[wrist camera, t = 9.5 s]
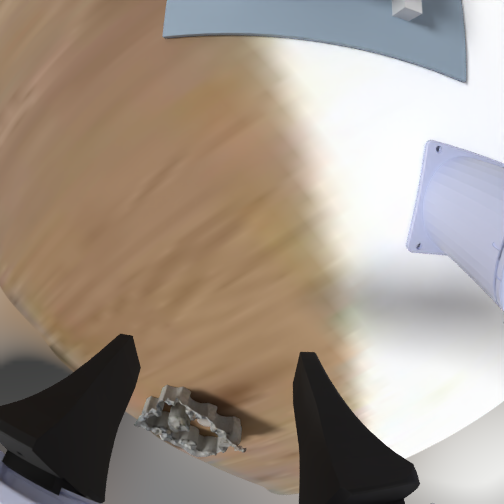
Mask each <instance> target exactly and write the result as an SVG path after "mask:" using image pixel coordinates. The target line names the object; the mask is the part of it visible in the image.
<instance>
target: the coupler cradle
mask: <svg viewBox="0 0 504 504" xmlns="http://www.w3.org/2000/svg"><path fill="white" fill-rule="evenodd" d="M209 35H249V36H269V37H282V38H293V39H302V40H310V41H317V42H323V43H330V44H335V45H341V46H346V47H351V48H356V49H361V50H365V51H369V52H373V53H378V54H381V55H385V56H389V57H393V58H396V59H399V60H403V61H406V62H409V63H413V64H416V65H419V66H422V67H425V68H427V69H430V70H433V71H436V72H438V73H441V74H444V75H446V76H449V77H451V78H454V79H456V80H459V81H461V82H466V48H465V31H464V20H463V11H462V3H461V0H167V4H166V12H165V20H164V29H163V37H164V38H165V39H166V38H176V37H189V36H209Z"/></svg>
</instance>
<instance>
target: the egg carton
mask: <svg viewBox="0 0 504 504" xmlns="http://www.w3.org/2000/svg"><path fill="white" fill-rule="evenodd" d="M190 394H191V391H190V390H188V389H187V388H185V387H179V388H176V387H172V386H169V385H166V386H164V387H163V388H162V391H161V395H160V397H159V398H155V397H152V396H150V397H149V398H147V400H146V403H145V405H144V409H143V411H142V416H141V415H140V416H139V418H138V420H137V421H136V423H135V424H134V426H137V427H142V428H144V429H146V430H147V431H149V430H151V431H152V432H153V433H155V435H160V437H161V439H162V440H163V441H169V442H171V443H172V444H174V445H176V446H179V447H181V448H183V449H184V450H185V451H187V452H188V453H189V454H191V455H193V456H196V457H205V456H210V455H216V454H217V453H218V452H221V451H222V452H223V453H224V452H225V451H226V450H227V448H228V447H229V446H232V447H235V448H234V450H235V451H238V450H239V451H242V452H245V451H246V448H242V446H237V445H238V444H239V443H240V441H241V432H242V427H241V423H240V421H241V420H240V419H239V418H237V417H235V416H233V417H224V416H221V415H219V414H217V413H216V411H217V406H215V405H212V404H210V403H198V402H196V401H194V400H192V399H191V398H190ZM165 402H166V403H167V404H168V405H172V407H171V410H170V413H169V412H165V411H162V410H163V407H164V404H165ZM195 419H197V422H198V423H199V424H201V425H202V426H206V427H210V430H211V432H215V433H216V434H217V435H218V438H217V437H213V436H206V437H203V436H201V435H199V429H198V428H196V427H194V426H192V425H190V421H191V420H193V421H194V420H195Z"/></svg>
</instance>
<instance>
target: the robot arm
mask: <svg viewBox="0 0 504 504" xmlns="http://www.w3.org/2000/svg"><path fill="white" fill-rule="evenodd" d="M437 146H439V151H438V152H437V151H436V147H437ZM419 243H420V246H419V247H418V248H417V245H418V244H419ZM406 247H407V249H408V250H409V251H410V252H414V253H426V254H437V255H448V256H449V257H450V258H451V259H452V260H453V261H454V262H455V263H456V264H457V265H458V266H460V267H461V268H462V269H463V270H464V271H465V272H466V273H467V274H468V275H469V276H470V277H471V278H472V279H473V280H474V281H475V282H476V283H477V284H478V285H479V286H480V287H481V288H482V289H483V290H484V291H485V292H486V293H487V294H488V295H489V296H490V297H491V299H492V300H493V301H494V302H495V303H496V304H497V305H498V306H499V307H500V308H501V309H502V311H503V312H504V164H503V163H501V162H498V161H495V160H493V159H490V158H487V157H484V156H482V155H479V154H476V153H473V152H470V151H467V150H464V149H461V148H458V147H454V146H451V145H448V144H444V143H441V142H437V141H434V140H428V141H427V142H426V144H425V149H424V156H423V163H422V170H421V176H420V182H419V187H418V193H417V198H416V203H415V208H414V213H413V217H412V222H411V226H410V231H409V235H408V239H407V243H406ZM140 368H141V367H140V363H139V360H138V356H137V352H136V348H135V344H134V339H133V336H131V335H125V334H120V335H118V336H117V337H116V338H115V339H114V340H112V341H111V342H110V343H109V344H108V345H107V346H106V347H104V348H103V349H102V350H101V351H100V352H99V353H97V354H96V355H95V356H94V357H93V358H91V359H90V360H89V361H88V362H87V363H85V364H84V365H83V366H81V367H80V368H79V369H77V370H76V371H75V372H73V373H72V374H71V375H69V376H68V377H66V378H65V379H63V380H61V381H60V382H58V383H57V384H55V385H53V386H51V387H49V388H47V389H45V390H43V391H42V392H39V393H37V394H35V395H33V396H30V397H28V398H25V399H23V400H20V401H17V402H13V403H10V404H6V405H3V406H0V443H1V444H2V445H3V446H4V447H5V448H6V449H7V452H6V454H5V453H3V452H2V451H1V450H0V504H101V503H103V502H104V501H105V489H106V481H107V474H108V468H109V462H110V457H111V453H112V448H113V444H114V440H115V437H116V433H117V430H118V427H119V424H120V422H121V419H122V417H123V415H124V412H125V410H126V408H127V405H128V403H129V401H130V398H131V396H132V393H133V391H134V389H135V386H136V383H137V379H138V375H139V372H140ZM293 406H294V413H295V421H296V428H297V435H298V443H299V454H300V489H299V504H405V502H404V498H405V497H407V496H408V495H410V494H411V493H412V492H414V491H415V490H416V489H417V488H418V486H419V484H420V482H419V479H418V475H417V472H416V470H415V468H414V465H413V464H412V463H410V462H409V461H407V460H406V459H404V458H403V457H401V456H400V455H398V454H397V453H395V452H394V451H393V450H391V449H390V448H389V447H387V446H386V445H385V444H384V443H383V442H381V441H380V440H379V439H378V438H377V437H376V436H375V435H374V434H373V433H371V432H370V431H369V430H368V429H367V428H366V427H365V425H364V424H363V423H362V422H361V421H360V420H359V419H358V418H357V417H356V416H355V414H354V413H353V412H352V411H351V409H350V408H349V407H348V406H347V404H346V403H345V401H344V400H343V399H342V397H341V396H340V394H339V393H338V391H337V390H336V388H335V387H334V385H333V384H332V382H331V380H330V379H329V377H328V375H327V374H326V372H325V370H324V368H323V366H322V365H321V363H320V361H319V359H318V357H317V355H316V353H315V352H300V355H299V359H298V364H297V368H296V372H295V377H294V381H293ZM431 504H434V503H431Z"/></svg>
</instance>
